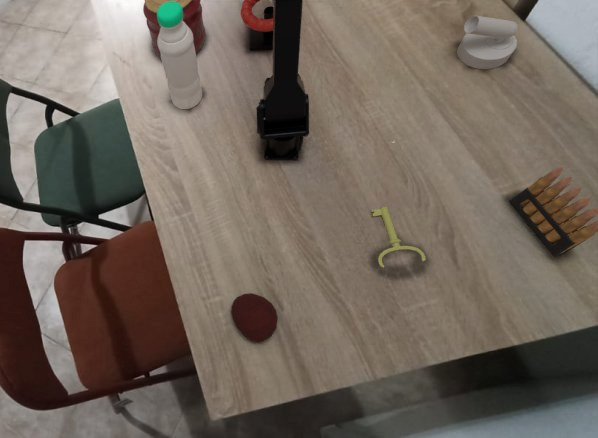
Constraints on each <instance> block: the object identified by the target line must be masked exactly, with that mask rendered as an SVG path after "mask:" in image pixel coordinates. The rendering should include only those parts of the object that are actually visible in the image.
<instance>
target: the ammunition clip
mask: <svg viewBox="0 0 598 438" xmlns="http://www.w3.org/2000/svg"><path fill="white" fill-rule="evenodd" d="M563 171H564V167H562V166H561V167H557V168H554V169H552V170H550V171H549V172H548V173H546V174H544V176H541V177H539V178H538V179H537V180H536V181H534V182H533V183H532V184H531V185H530V186H528V187H526V188H525V189H523V190H521V192H519V193H518V194H517V195H515V196H513V197H512V198H511V199H509V201H508V202H509V203H510V204H511V206H512V207H513V208H514V210H516V212H517V213H518V215H519V216H520V217H521V218H522V219H523V220H524V222H525V223H526V224H527V225H528V227H529V228H530V229H531V230H532V232H533V233H534V234H535V236H536V237H537V238H538V239H539V241H541V243H542V244H543V245H544V246H545V247H546V249H547V250H548V251H549V253H550V254H551V255H552V256H554V257H557V256H560V255H563V254H566V253H568V252H569V251H571V250H573V249H574V248H576V247H577V246H579V245H581V244H583V243H584V242H585V241H587V240H589V239H590V238H592V237H594V236H595V235H596V234H597V233H598V220H596V221H594V222H592V223H590V224H588V222H590V221H591V220H593V219H594V218H595V217H596V216H597V215H598V207H594V208H591V209H588V210H586V211H584V212H583V213H580V214H578V213H579V212H580V211H582V209H584V208H585V207H587V205H589V203H590V202H591V199H592V198H591V197H590V196H589V197H583V198H581V199H578V200H576V201H574V202H572V201H573V200H574V199H575V198H576V197H577V196H578V195H579V194H580V193H581V191H582V187H581V186H579V187H578V186H577V187H574V188H571V189H570V190H568V191H566V192H565V193H563V194H561V192H563V191H564V190H565V189H566V188H567V187H568V186H569V185H570V183H571V182H572V181H573V177H572V176H568V177H565V178H563V179H561V180H559V181H557V182H556V183H554V184H553V182H554V181H555V180H557V179H558V178H559V176H560V175H561V174H562V172H563ZM552 184H553V185H552ZM560 194H561V195H560ZM570 202H572V203H571V204H570V205H568V204H569V203H570ZM577 214H578V215H577ZM586 224H587V225H586Z"/></svg>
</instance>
